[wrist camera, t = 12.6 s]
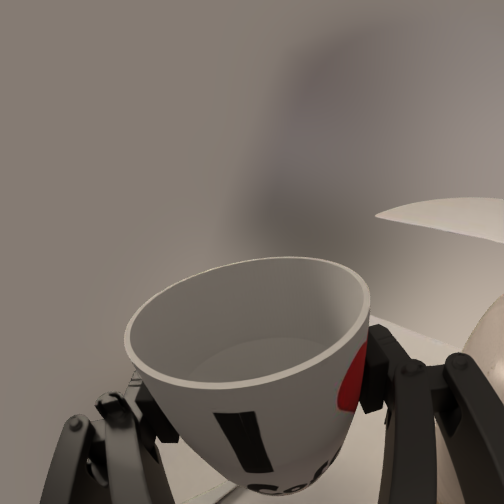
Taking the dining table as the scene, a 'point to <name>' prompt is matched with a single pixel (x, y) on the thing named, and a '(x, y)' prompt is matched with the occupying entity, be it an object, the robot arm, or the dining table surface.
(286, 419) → the cup
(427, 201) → the dining table surface
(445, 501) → the vase
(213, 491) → the fork
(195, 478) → the dining table surface
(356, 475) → the dining table surface
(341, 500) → the dining table surface
